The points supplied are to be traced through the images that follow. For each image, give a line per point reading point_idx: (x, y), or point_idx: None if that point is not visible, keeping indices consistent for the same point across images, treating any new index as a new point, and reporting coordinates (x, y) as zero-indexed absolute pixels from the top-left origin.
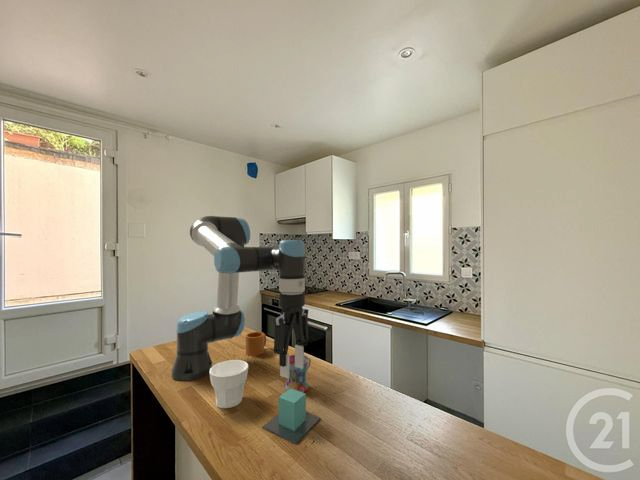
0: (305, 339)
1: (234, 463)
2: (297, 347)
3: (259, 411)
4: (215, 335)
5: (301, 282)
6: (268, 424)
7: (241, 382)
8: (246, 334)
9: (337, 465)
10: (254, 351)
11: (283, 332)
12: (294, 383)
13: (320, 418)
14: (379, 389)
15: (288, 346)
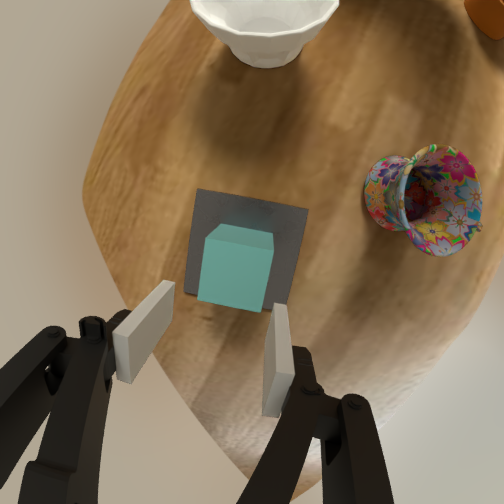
0: (322, 438)
1: (100, 200)
2: (270, 383)
3: (256, 139)
4: None
5: None
6: (208, 199)
7: (256, 50)
8: None
9: (177, 367)
10: (479, 15)
11: (12, 457)
12: (381, 200)
13: None
14: (421, 381)
15: (107, 409)
